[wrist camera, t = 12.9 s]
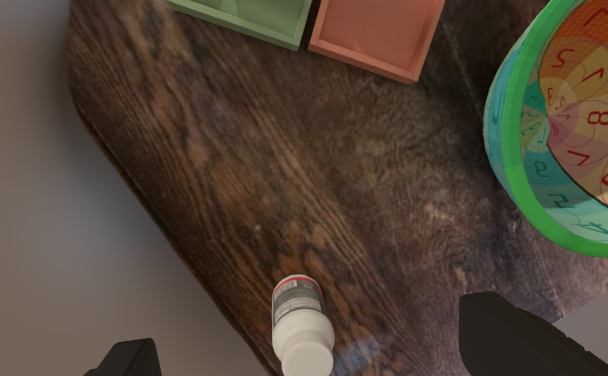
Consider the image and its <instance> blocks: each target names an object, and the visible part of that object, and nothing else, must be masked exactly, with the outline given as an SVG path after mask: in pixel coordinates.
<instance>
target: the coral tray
mask: <svg viewBox="0 0 608 376" xmlns="http://www.w3.org/2000/svg"><path fill="white" fill-rule="evenodd" d="M444 3H445V0H321V2H320V6H319V9H318V13H317V16H316V20H315V23H314V27H313V31H312V34H311V38H310V41H309V45H308V48H307V49H308V50H310V51H313V52H316V53H319V54H321V55H324V56H327V57H330V58H333V59H336V60H339V61H342V62H344V63H347V64H350V65H353V66H356V67H359V68H362V69H365V70H367V71H370V72H373V73H376V74H379V75H382V76H385V77H388V78H390V79H393V80H396V81H399V82H402V83H405V84H410V83H414V82H417V81H418V79H419V76H420V73H421V70H422V67H423V64H424V61H425V58H426V56H427V53H428V50H429V47H430V44H431V41H432V38H433V35H434V32H435V29H436V27H437V24H438V21H439V18H440V15H441V12H442V9H443V6H444Z"/></svg>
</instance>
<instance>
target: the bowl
mask: <svg viewBox="0 0 608 376" xmlns="http://www.w3.org/2000/svg"><path fill="white" fill-rule="evenodd" d="M483 137H484V143H485V149H486V152H487V155H488V158H489V162H490V164H491V167H492V169H493V171H494V173H495V175H496V177H497V179H498V181H499V182H500V184H501V185H502V186H503V187H504V189H505V190H506V191H507V193H508V195H509V196H510V198H511V199H512V200H513V202H514V203H515V204H516V206H517V207H518V208H519V209H520V211H521V212H522V213H523V214H524V215H525V217H526V218H527V219H528V221H529V222H530V223H531V224H532V225H533V226H534V227H535V228H536V229H537V230H538V231H539V232H541V233H542V234H543V235H544V236H545V237H546V238H547V239H549V240H551V241H553V242H554V243H556V244H558V245H560V246H561V247H563V248H565V249H568V250H571V251H574V252H577V253H579V254H582V255H589V256H595V257H608V0H550V2H549V3H548V4H547V5H546V7H545V8H544V9H543V10H542V11H541V12H540V13H539V14H538V15H537V17H536V18H535V19H534V20H533V22H532V23H531V24H530V25H529V26H528V28H527V29H526V30H525V32H524V33H523V34H522V36H521V37H520V38H519V39H518V40H517V42H516V43H515V44H514V45H513V47H512V48H511V49H510V51H509V52H508V54H507V56H506V57H505V59H504V61H503V62H502V64H501V66H500V67H499V69H498V71H497V73H496V75H495V78H494V80H493V82H492V84H491V87H490V89H489V93H488V96H487V100H486V103H485V110H484V117H483Z"/></svg>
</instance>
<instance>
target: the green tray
mask: <svg viewBox="0 0 608 376" xmlns="http://www.w3.org/2000/svg"><path fill="white" fill-rule="evenodd" d="M165 1H166V3H167V4H168V5H169V6H170V7H171V8H172V9H173V10H176V11H179V12H182V13H185V14H188V15H191V16H194V17H196V18H199V19H202V20H205V21H208V22H211V23H214V24H217V25H220V26H223V27H225V28H228V29H231V30H234V31H237V32H240V33H243V34H246V35H249V36H252V37H254V38H257V39H260V40H263V41H266V42H269V43H272V44H275V45H278V46H281V47H284V48H286V49H289V50H292V51H295V52H297V51H298V48H299V45H300V42H301V38H302V34H303V31H304V27H305V24H306V20H307V16H308V13H309V9H310V6H311V2H312V0H165Z"/></svg>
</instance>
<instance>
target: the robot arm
mask: <svg viewBox="0 0 608 376" xmlns="http://www.w3.org/2000/svg"><path fill="white" fill-rule="evenodd" d="M459 351H460V355H461V358H462V361H463V363H464V365H465V367H466V369H467V370H468V372H469V373H470V374H471V376H608V364H606V363H605V362H604V361H602V360H601V359H599V358H598V357H597V356H595V355H594V354H592V353H591V352H590V351H585V350H584V347H583V346H581V345H580V344H578V343H577V342H576V341H574V340H573V339H571V338H569V337H568V338H567V337H566V336H565V334H564V333H563V332H561V331H560V330H559V329H557V328H556V327H554V326H553V325H552V324H550V323H549V322H547V321H546V320H545V319H543V318H541V317H538V316H536V315H534V314H532V313H530V312H527V311H525V310H523V309H521V308H516V307H515V306H514V305H512V304H511V303H510V302H508V301H507V300H506V299H504V298H503V297H502V296H500V295H499V294H497V293H496V292H494V291H486V292H479V293H472V294H465V295H462V296H461V298H460V302H459ZM83 376H162V374H161V369H160V365H159V360H158V355H157V351H156V346H155V343H154V341H153V339H151V338H146V339H139V340H132V341H124V342H118V343H116V344H115V345H114V346H113V347H112V348H111V350H110V351H109V353H108V354H107V355H106V357H105V358H104V359H103V361H102V362H101V363H100V365H99V366H98V368H97V369H91V370H89V371H88V372H87V373H86V374H84V375H83Z"/></svg>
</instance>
